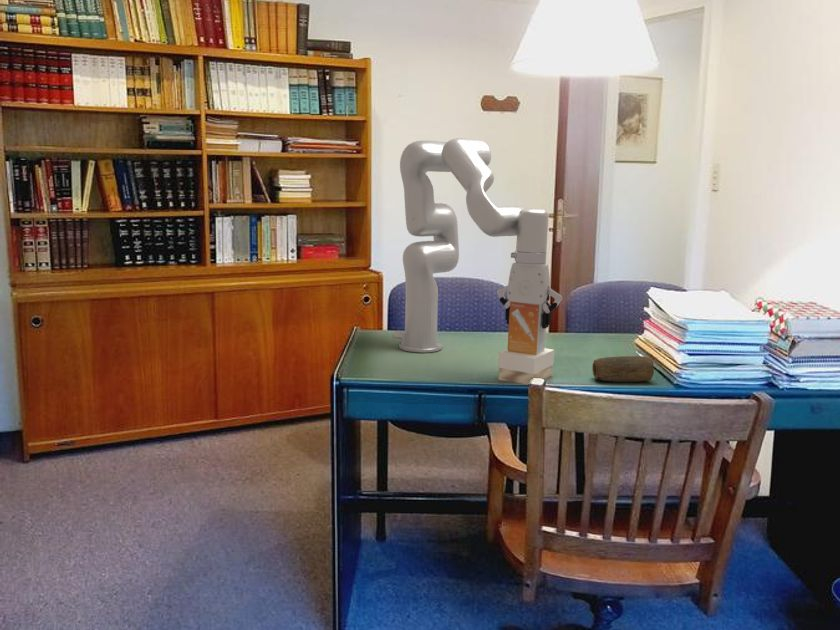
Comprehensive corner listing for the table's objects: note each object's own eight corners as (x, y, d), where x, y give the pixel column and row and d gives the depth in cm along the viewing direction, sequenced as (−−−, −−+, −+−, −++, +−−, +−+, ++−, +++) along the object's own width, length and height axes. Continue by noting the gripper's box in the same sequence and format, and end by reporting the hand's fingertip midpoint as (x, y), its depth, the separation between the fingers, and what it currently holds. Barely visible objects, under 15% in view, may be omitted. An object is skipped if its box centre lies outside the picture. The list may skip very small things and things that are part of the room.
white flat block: (498, 367, 197) (498, 352, 197) (518, 358, 207) (519, 344, 206) (533, 374, 192) (534, 358, 191) (553, 364, 202) (554, 349, 201)
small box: (506, 351, 198) (509, 301, 196) (516, 346, 204) (518, 297, 201) (536, 355, 194) (539, 304, 192) (545, 350, 200) (548, 301, 197)
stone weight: (644, 377, 203) (646, 352, 202) (655, 384, 196) (657, 359, 195) (588, 378, 202) (590, 353, 200) (598, 385, 195) (599, 359, 193)
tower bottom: (498, 383, 198) (499, 368, 197) (516, 373, 208) (516, 358, 207) (535, 389, 193) (536, 374, 192) (551, 378, 203) (552, 363, 202)
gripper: (493, 257, 195) (490, 324, 198) (559, 262, 187) (555, 332, 190) (504, 254, 201) (501, 319, 205) (568, 259, 193) (564, 327, 197)
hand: (527, 325), depth 197 cm, fingers open, 9 cm apart
